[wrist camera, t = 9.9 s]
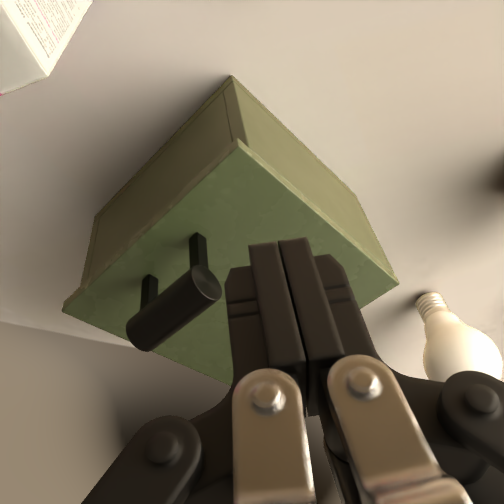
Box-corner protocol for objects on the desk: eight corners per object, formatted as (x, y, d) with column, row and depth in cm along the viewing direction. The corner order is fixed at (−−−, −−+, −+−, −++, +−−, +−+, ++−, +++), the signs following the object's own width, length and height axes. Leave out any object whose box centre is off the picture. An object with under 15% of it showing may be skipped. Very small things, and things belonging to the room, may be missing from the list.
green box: (94, 216, 34) (75, 306, 28) (231, 74, 29) (248, 146, 22) (225, 294, 42) (234, 378, 36) (355, 194, 36) (395, 274, 30)
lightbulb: (419, 323, 49) (466, 420, 41) (382, 303, 46) (426, 403, 38) (469, 289, 46) (531, 386, 38) (433, 264, 43) (493, 364, 35)
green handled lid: (63, 301, 28) (45, 380, 24) (237, 136, 22) (250, 205, 18) (234, 379, 36) (242, 447, 32) (395, 275, 30) (429, 343, 26)
